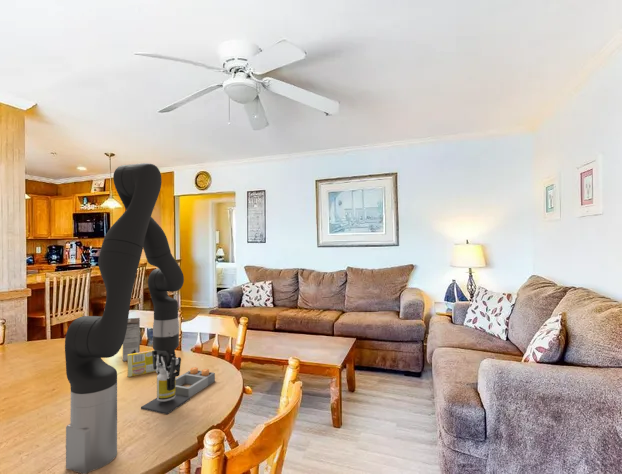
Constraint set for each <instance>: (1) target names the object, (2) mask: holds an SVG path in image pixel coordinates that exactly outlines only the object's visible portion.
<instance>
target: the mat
mask: <svg viewBox="0 0 622 474" xmlns="http://www.w3.org/2000/svg"><path fill="white" fill-rule="evenodd" d="M190 400H191V397H185V396H179V395H176V396H175V398H173V399H172V400H169V401H158V400H157V397H156V398H154V399H152V400H150V401H148V402H147V403H145V404H143V405H142V406H140V409H141V410H145V411H148V412H152V413H159V414H163V415H169V414H170V413H171V412H174V411H175V410H177V409H178V408H180V407H181V406H183V405H184V404H186V403H187V402H189V401H190Z"/></svg>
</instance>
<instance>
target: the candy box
mask: <svg viewBox="0 0 622 474" xmlns="http://www.w3.org/2000/svg"><path fill="white" fill-rule="evenodd" d="M153 350H154V349H151V350H145V351H140V352H139V353H133V354H127V359H128V361H127V378H131V377H135V376H140V375H146V374H149V373H156V369H155V370H154V368H153V358H152V351H153ZM156 362H157V361H156Z"/></svg>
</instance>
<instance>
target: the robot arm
mask: <svg viewBox="0 0 622 474" xmlns="http://www.w3.org/2000/svg"><path fill="white" fill-rule="evenodd" d="M112 178H113V185H114V188H115V191H116V192H117V194H118V196H119V198H120V200H121V202H122V204H123V206H124V209H125V211H124V212H123V213H122V214H121V215H120V217H119V218H118V219H117V220H116V221H115V222H114V223H113V224H112V226H110V227H109V229H108V230H107V232H106V234H105V236H104V237H103V240H102V245H101V247H100V251H99V255H98V260H97V262H98V270H99V272H100V274H101V275H100V276H101V278H102V282H103V284H104V287H105V291H106V299H105V305H104V309H103V314H102V316H97V315H84V316H79V317H77V318H75V319H74V320H73V321H72V322H71V323H70V325H69V327H68V328H67V330H66V333H65V340H64V356H65V369H66V370H65V374H66V378H67V381H68V382H69V385H70V387H69V388H70V421H69V422H70V423H69V424H67V425H66V426H65V469H66V470H71V471H73V472H77V473H78V474H79V473H80V474H88V473H89V472H92V471H95V470H98V469H100V468H103V467H105V466H107V465H109V463H111V462H112V461H113V460H114V459H115V458H116V456H117V455H118V372H117V369H116V368H115V367H113V366H112V365H110V364H108V363H107V362H105V361H104V360H103V359H107V358H112V357H114V356H115V355H117V354H118V353H119V352H120V350H121V348H123V342H124V339H125V335H126V330H127V324H128V319H129V317H130V316H129V315H130V308H131V302H132V294H133V290H134V286H135V282H136V277H137V271H138V268H139V265H140V262H141V258H142V254H143V253H144V255H145V258H146V261H147V263H148V264H149V265H150V266H153V267H156V268H155V269H153V270H152V271H150V274H149V275H148V277H147V286H148V291H149V295H150V297H151V302H152V305H153V324H152V348H153V349H152V350H153V351H152V358H153V368H154V370H155V369H156V372H155V373H156V375H157V376H158V374H160V372H159V367H160V366H162V365H163V367H164V371H166V374H167V390H168V391H170V390H173V389H174V388H175V377H176V378H177V377H179V376H180V372H181V364H182V363H181V362H182V358H181V357H180V356H179V357H177V355H176V349H177V348H178V347H179V345H180V323H179V302H178V300H177V299H175V298H173V297H171V296H169V294H168V292H169V293H170V292H172V293H173V292H178V291H179V290H181V289H182V287H183V285H184V281H185V277H184V273H183V271H182V268H181V267H180V265H179V264H178V263H177V262H178V261H176V259H175V257H174V256H173V254H172V252H171V248H170V244H169V241H168V238H167V235H166V232H164V229H163V228H162V227H161V226H160V224H158V222H157V221H156V220H155V219H154V218H153V217H152V216H153V215H152V214H153V212H154V210H155V206H156V203H157V201H158V197H159V195H160V193H161V192H160V191H161V188H162V183H163V182H162V174H161V171H160V169H159V168H158V166H156V165H155V164H154V163H150V162H143V163H142V162H141V163H140V162H139V163H134V164H133V163H131V164H123V165H120V166H117V167H116V168H115V170H114V171H113V177H112ZM156 361H157V362H156ZM168 366H171V367H169V368H168ZM169 370H170V372H169ZM157 376H156V377H157Z"/></svg>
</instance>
